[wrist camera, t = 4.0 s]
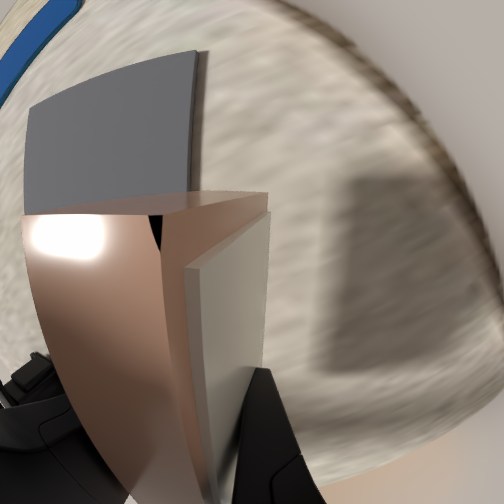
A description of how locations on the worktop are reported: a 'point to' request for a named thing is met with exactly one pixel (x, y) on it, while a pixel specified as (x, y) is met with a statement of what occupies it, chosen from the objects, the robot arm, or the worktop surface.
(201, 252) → the block
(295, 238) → the worktop surface
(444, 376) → the worktop surface
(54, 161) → the mat
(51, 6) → the smartphone
